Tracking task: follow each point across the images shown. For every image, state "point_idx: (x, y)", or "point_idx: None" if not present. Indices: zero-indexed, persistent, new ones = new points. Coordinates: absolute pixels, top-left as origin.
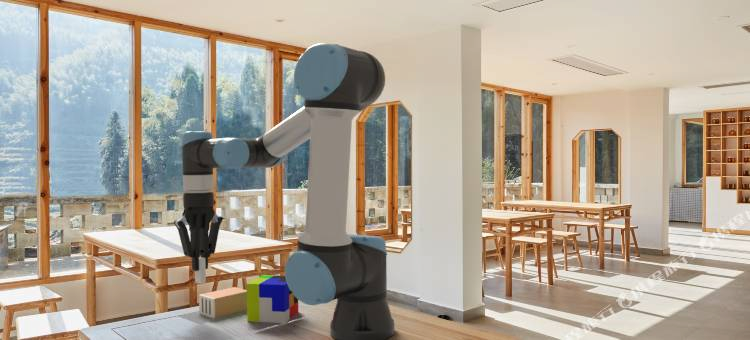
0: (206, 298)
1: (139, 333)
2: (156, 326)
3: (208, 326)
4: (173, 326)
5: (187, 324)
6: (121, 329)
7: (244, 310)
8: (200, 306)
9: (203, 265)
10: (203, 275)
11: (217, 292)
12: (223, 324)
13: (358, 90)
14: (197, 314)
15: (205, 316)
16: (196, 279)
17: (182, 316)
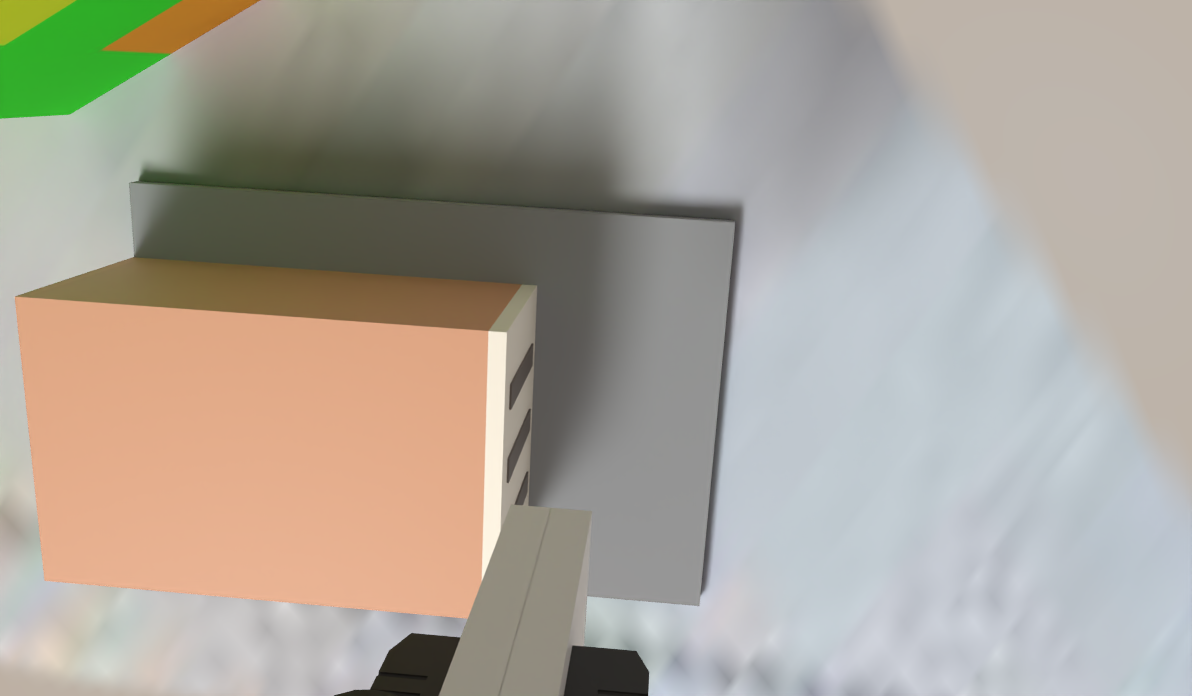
0: (505, 467)
1: (1174, 477)
2: (963, 533)
3: (692, 148)
4: (879, 414)
5: (769, 364)
6: (1178, 691)
7: (193, 261)
8: None
9: (498, 647)
10: (530, 558)
11: (309, 536)
12: (566, 82)
13: None
14: None
15: (549, 400)
16: (583, 631)
17: (678, 568)
